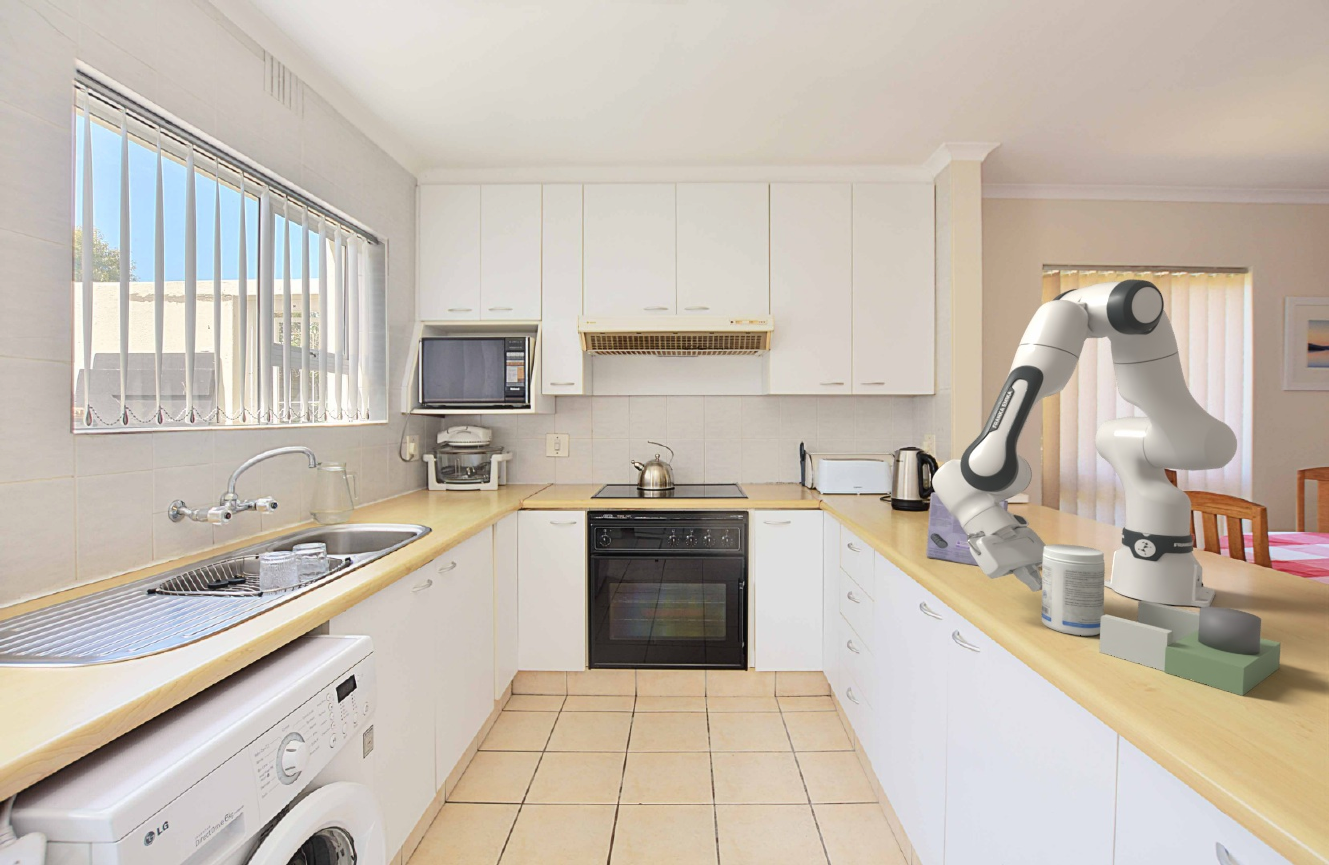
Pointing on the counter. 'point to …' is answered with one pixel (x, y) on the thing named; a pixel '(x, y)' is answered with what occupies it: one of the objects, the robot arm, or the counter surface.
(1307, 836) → the counter surface
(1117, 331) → the robot arm
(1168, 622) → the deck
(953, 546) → the cake pan box
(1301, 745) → the counter surface
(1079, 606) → the supplement tub
